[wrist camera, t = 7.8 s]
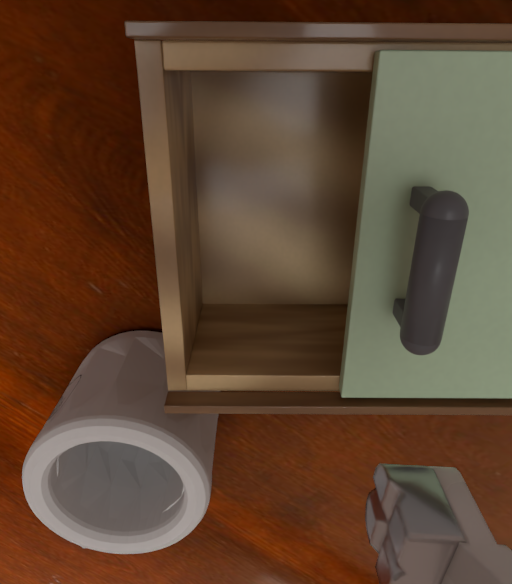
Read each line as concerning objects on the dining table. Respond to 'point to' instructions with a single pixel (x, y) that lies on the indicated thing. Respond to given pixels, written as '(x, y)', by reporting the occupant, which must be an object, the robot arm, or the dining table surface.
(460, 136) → the slide lid
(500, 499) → the dining table surface
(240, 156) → the box
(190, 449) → the mug
